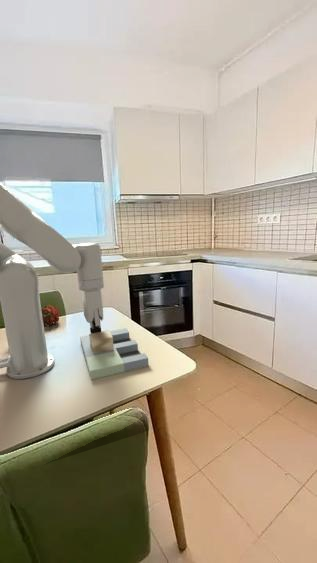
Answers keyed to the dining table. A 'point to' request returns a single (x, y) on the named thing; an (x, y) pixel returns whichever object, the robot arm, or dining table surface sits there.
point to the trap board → (114, 356)
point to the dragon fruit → (50, 314)
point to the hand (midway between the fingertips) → (96, 338)
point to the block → (101, 342)
